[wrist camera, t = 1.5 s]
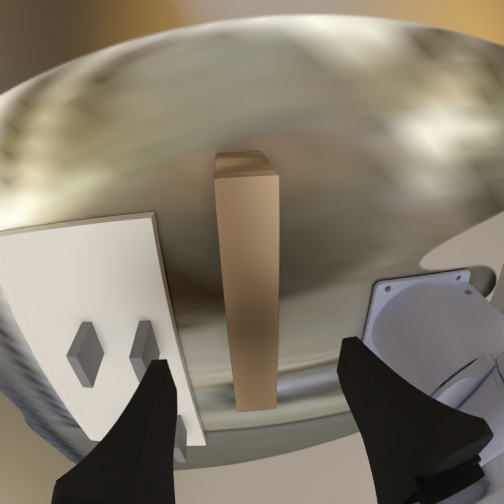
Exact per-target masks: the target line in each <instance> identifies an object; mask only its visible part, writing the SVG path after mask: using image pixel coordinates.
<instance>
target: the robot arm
mask: <svg viewBox="0 0 504 504" xmlns="http://www.w3.org/2000/svg"><path fill="white" fill-rule="evenodd" d="M470 275H471V273H470V271H469V270H468V269H464V270H458V271H451V272H444V273H437V274H430V275H423V276H416V277H409V278H401V279H394V280H386V281H380V282H378V283H376V284H375V286H374V289H373V294H372V300H371V305H370V309H369V314H368V319H367V323H366V328H365V332H364V337H363V341H361V340H360V339H359V338H358V337H356V336H355V337H349V338H344V339H343V340H342V346H341V351H340V357H339V362H338V367H337V374H338V377H339V381H340V384H341V388H342V391H343V393H344V396H345V398H346V400H347V403H348V405H349V407H350V410H351V412H352V414H353V417H354V419H355V421H356V423H357V426H358V428H359V430H360V433H361V435H362V438H363V441H364V445H365V448H366V452H367V455H368V459H369V463H370V467H371V471H372V476H373V480H374V485H375V490H376V496H377V502H378V504H504V316H503V315H502V314H501V313H500V312H499V311H498V310H497V309H496V308H495V307H494V306H493V305H492V304H491V303H490V302H489V301H488V300H487V299H486V298H485V297H484V296H483V295H482V294H481V293H480V292H479V291H478V290H477V289H475V288H474V287H473V286H472V285H471V284H470V283H469V279H470ZM457 276H458V277H457ZM387 286H388V287H387ZM386 287H387V288H386ZM385 288H386V289H385ZM381 359H382V360H381ZM177 413H178V406H177V388H176V385H175V382H174V380H173V377H172V374H171V371H170V368H169V365H168V362H167V359H157V360H152V361H151V362H150V364H149V366H148V368H147V370H146V372H145V374H144V376H143V378H142V380H141V382H140V383H139V385H138V387H137V389H136V391H135V392H134V394H133V396H132V398H131V399H130V401H129V403H128V404H127V406H126V407H125V409H124V410H123V412H122V414H121V415H120V417H119V418H118V420H117V421H116V422H115V424H114V425H113V426H112V428H111V429H110V430H109V432H108V433H107V434H106V435H105V436H104V438H103V439H102V440H101V441H100V442H99V443H98V445H97V446H96V447H95V448H94V449H93V450H92V451H91V452H90V453H89V454H88V455H87V456H86V457H85V458H84V459H82V460H81V461H80V462H79V463H78V464H77V465H76V466H75V467H74V468H72V469H71V470H70V471H68V472H67V473H66V474H64V475H63V476H62V477H60V478H59V479H58V480H57V481H56V484H55V487H54V491H53V496H52V502H51V504H175V492H174V476H173V455H174V444H175V433H176V423H177Z"/></svg>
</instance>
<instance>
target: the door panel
mask: <svg viewBox="0 0 504 504" xmlns="http://www.w3.org/2000/svg"><path fill="white" fill-rule="evenodd" d="M214 186H215V199H216V212H217V224H218V236H219V248H220V259H221V270H222V280H223V290H224V300H225V310H226V320H227V329H228V338H229V348H230V356H231V365H232V374H233V382H234V390H235V398H236V406H237V412H245V411H257V410H267V409H276V399H277V367H278V322H279V175H278V173H277V172H276V171H275V169H274V168H273V167H272V165H271V164H270V163H269V161H268V160H267V159H266V157H265V156H264V155H263V153H262V152H261V151H253V152H234V153H219V154H216V164H215V174H214Z"/></svg>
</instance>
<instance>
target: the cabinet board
mask: <svg viewBox="0 0 504 504" xmlns="http://www.w3.org/2000/svg"><path fill="white" fill-rule="evenodd" d="M0 285H1V287H2V289H3V292H4V294H5V297H6V299H7V301H8V303H9V306H10V308H11V310H12V312H13V314H14V317H15V319H16V321H17V323H18V325H19V327H20V329H21V331H22V333H23V335H24V337H25V339H26V341H27V343H28V345H29V346H30V348H31V350H32V352H33V354H34V356H35V357H36V359H37V361H38V363H39V364H40V366H41V368H42V370H43V371H44V373H45V375H46V376H47V378H48V379H49V381H50V383H51V384H52V386H53V387H54V389H55V391H56V392H57V394H58V395H59V397H60V398H61V400H62V401H63V403H64V404H65V406H66V407H67V408H68V410H69V411H70V413H71V414H72V416H73V417H74V418H75V420H76V421H77V422H78V424H79V425H80V427H81V428H82V429H83V431H84V432H85V433H86V434H87V436H88V437H89V438H90V440H95V441H101V440H102V439H103V438H104V436H105V435H106V434H107V433H108V432H109V430H110V429H111V428H112V426H113V425H114V424H115V422H116V421H117V420H118V418H119V417H120V415H121V414H122V412H123V410H124V409H125V407H126V406H127V404H128V403H129V401H130V399H131V398H132V396H133V394H134V392H135V391H136V389H137V387H138V385H139V383H140V382H141V380H142V378H143V376H144V374H145V372H146V370H147V368H148V366H149V364H150V362H151V361H152V360H157V359H167V362H168V365H169V368H170V371H171V374H172V377H173V380H174V382H175V385H176V388H177V406H178V413H177V423H176V433H175V444H174V457H175V459H176V460H177V462H186V449H187V446H194V445H206V436H205V432H204V429H203V426H202V422H201V419H200V416H199V412H198V409H197V405H196V402H195V398H194V395H193V391H192V388H191V384H190V380H189V376H188V373H187V369H186V365H185V361H184V357H183V353H182V349H181V345H180V340H179V336H178V332H177V328H176V323H175V319H174V314H173V310H172V305H171V300H170V295H169V290H168V285H167V280H166V275H165V270H164V265H163V259H162V254H161V248H160V242H159V236H158V230H157V224H156V218H155V212H145V213H136V214H127V215H118V216H109V217H100V218H92V219H84V220H76V221H69V222H61V223H54V224H47V225H40V226H33V227H26V228H20V229H14V230H7V231H1V232H0Z"/></svg>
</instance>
